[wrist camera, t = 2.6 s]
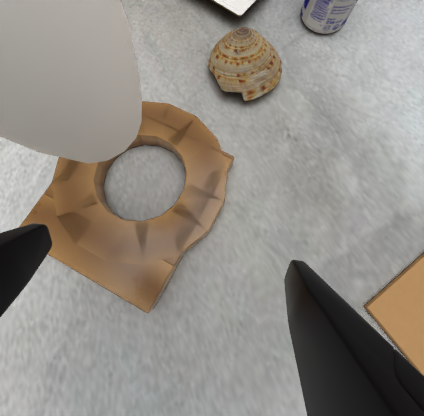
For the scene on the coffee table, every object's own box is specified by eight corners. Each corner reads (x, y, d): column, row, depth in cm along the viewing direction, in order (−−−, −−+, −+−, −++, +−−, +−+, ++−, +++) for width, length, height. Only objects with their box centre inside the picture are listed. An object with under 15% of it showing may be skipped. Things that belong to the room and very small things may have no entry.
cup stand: (164, 315, 21) (160, 320, 19) (21, 231, 22) (3, 228, 20) (251, 153, 24) (254, 144, 22) (122, 91, 26) (115, 77, 24)
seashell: (220, 102, 23) (204, 15, 22) (214, 115, 29) (202, 46, 27) (296, 88, 24) (286, 1, 22) (277, 103, 29) (267, 35, 28)
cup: (115, 150, 24) (-344, -391, 4) (183, 152, 24) (54, -378, 4) (106, 216, 23) (-728, -146, 2) (178, 218, 23) (-67, -125, 3)
